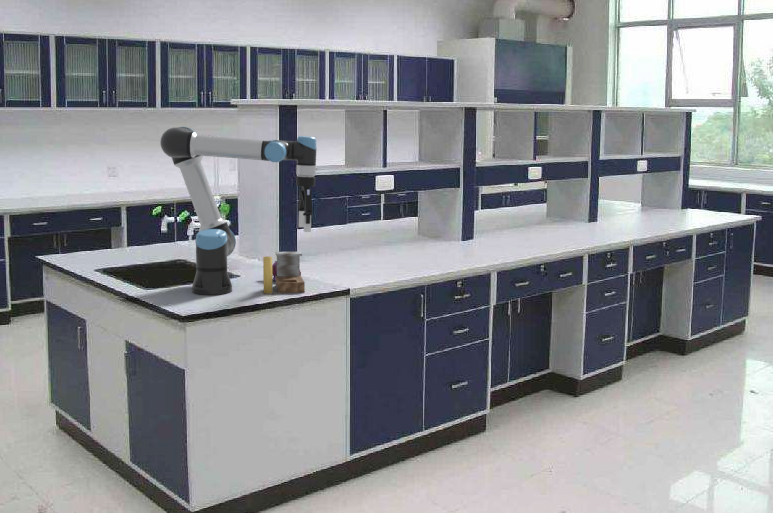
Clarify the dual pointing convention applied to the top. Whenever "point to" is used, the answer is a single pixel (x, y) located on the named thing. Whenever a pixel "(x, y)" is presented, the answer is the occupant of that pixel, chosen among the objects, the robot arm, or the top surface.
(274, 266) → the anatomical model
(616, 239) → the top surface
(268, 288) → the peg
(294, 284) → the peg socket stand
